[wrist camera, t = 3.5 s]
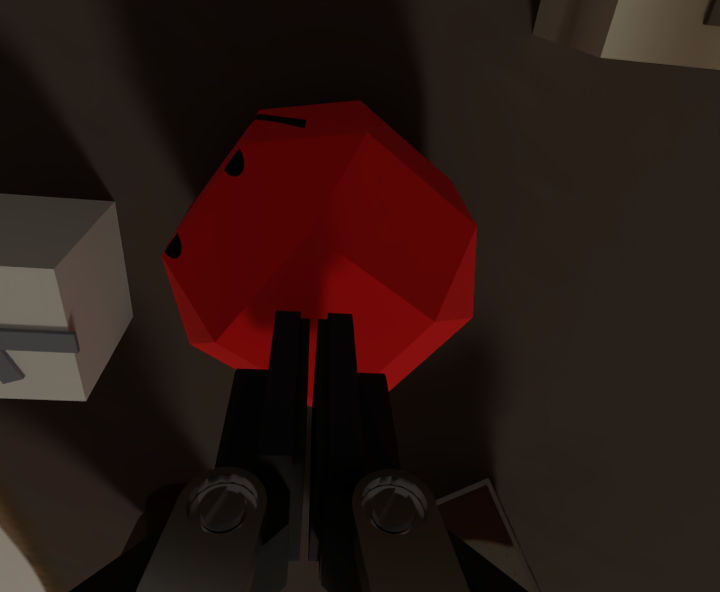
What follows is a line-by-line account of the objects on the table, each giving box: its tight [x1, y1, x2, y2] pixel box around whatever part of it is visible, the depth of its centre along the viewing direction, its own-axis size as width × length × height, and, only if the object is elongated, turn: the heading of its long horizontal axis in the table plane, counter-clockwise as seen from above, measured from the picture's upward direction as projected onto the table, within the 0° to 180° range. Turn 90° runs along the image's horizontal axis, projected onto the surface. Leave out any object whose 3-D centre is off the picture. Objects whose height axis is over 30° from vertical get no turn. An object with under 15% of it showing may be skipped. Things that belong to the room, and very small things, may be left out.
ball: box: [162, 100, 477, 406], centre depth 16 cm, size 8×8×8 cm
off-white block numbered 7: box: [0, 194, 133, 401], centre depth 18 cm, size 5×5×5 cm
